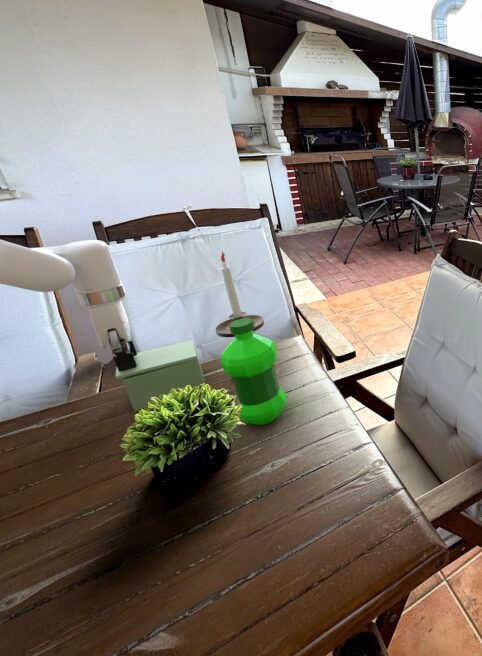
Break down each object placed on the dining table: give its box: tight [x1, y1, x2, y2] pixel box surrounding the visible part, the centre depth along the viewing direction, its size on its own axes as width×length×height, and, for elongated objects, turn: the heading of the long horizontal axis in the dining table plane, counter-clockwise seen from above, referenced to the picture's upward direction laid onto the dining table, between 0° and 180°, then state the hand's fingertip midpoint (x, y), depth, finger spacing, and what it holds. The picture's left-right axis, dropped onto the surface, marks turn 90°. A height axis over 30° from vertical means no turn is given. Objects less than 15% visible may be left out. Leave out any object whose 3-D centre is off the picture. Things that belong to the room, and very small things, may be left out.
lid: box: [115, 339, 198, 380], centre depth 99 cm, size 15×11×5 cm
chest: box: [121, 345, 206, 412], centre depth 102 cm, size 14×11×9 cm
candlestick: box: [215, 251, 265, 338], centre depth 106 cm, size 11×11×35 cm
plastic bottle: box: [219, 318, 287, 426], centre depth 89 cm, size 10×10×25 cm
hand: (128, 362), depth 96 cm, fingers open, 6 cm apart
